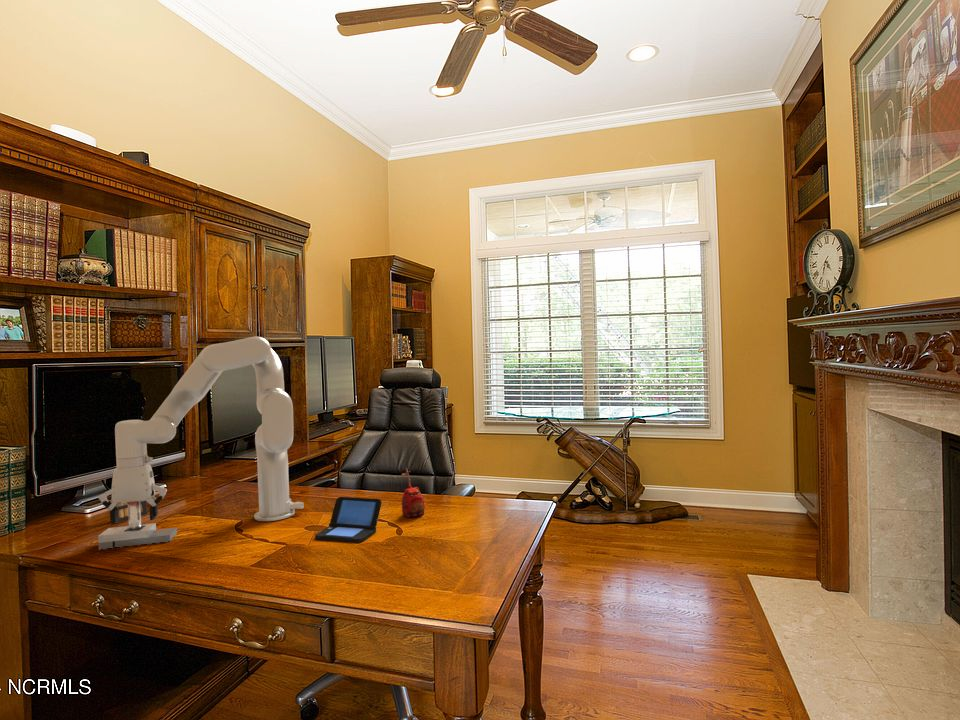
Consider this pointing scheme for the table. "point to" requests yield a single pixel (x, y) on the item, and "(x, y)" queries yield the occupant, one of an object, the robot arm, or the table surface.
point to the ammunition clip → (124, 510)
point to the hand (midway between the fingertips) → (134, 520)
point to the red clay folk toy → (412, 501)
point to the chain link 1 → (123, 535)
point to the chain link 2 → (150, 538)
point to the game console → (352, 520)
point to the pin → (134, 515)
